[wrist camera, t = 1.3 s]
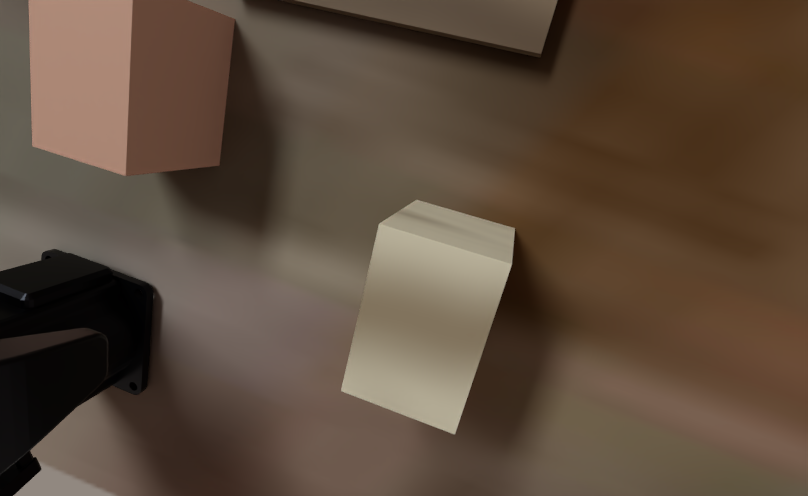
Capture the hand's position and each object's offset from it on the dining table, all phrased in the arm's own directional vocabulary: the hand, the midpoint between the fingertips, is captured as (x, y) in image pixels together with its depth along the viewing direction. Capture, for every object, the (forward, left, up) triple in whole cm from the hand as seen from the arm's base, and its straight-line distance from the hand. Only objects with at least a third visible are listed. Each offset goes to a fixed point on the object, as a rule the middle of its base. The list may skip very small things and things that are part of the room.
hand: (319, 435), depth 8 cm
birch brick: (-1, -1, -11) cm, 11 cm away
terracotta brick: (+4, +12, -11) cm, 17 cm away
